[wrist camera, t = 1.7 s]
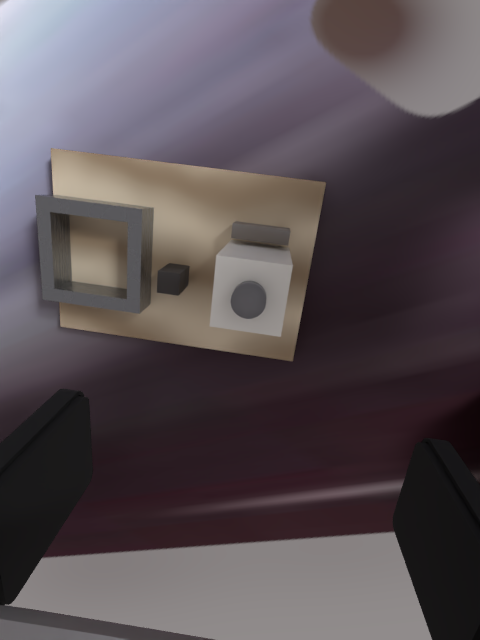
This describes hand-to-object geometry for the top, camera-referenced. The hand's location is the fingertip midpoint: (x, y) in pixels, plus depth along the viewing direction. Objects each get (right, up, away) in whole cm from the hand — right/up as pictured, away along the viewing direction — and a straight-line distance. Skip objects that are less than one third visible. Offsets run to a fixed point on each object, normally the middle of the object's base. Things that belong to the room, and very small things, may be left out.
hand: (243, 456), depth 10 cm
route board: (-5, +9, +19) cm, 22 cm away
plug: (+1, +8, +18) cm, 19 cm away
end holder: (-11, +9, +18) cm, 23 cm away
